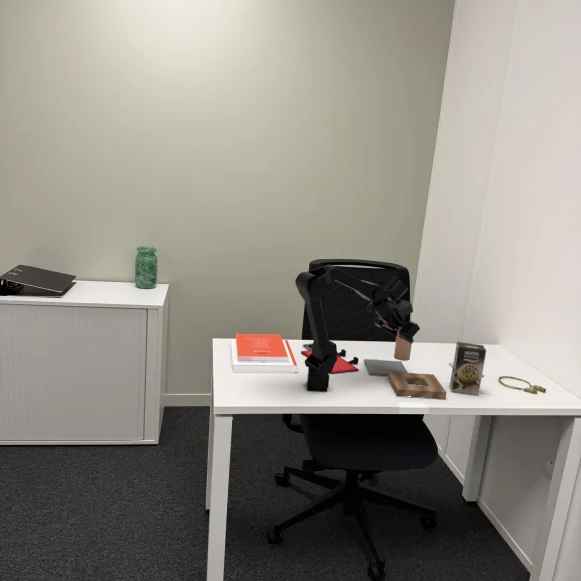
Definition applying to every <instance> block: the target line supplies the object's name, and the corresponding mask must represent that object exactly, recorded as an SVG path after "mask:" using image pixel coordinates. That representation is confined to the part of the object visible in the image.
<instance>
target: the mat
mask: <svg viewBox="0 0 581 581" xmlns="http://www.w3.org/2000/svg"><path fill="white" fill-rule="evenodd" d="M402 362H403V361H402V360H388V359H387V360H384V359H383V360H382V359H372V358H371V359H368V358H364V359H363V363H364V365H365V367H367V368H366V370H367V372H368V374H369V376H379V377H388V372H403V373H409V372H408V371H407V368H406V367H405V365H404V364H403V363H402Z"/></svg>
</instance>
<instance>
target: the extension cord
mask: <svg viewBox="0 0 581 581" xmlns="http://www.w3.org/2000/svg"><path fill="white" fill-rule="evenodd" d="M501 379H510V380H511V379H513V380H516V381H521V382H524V383H526V384H528V385H529V387H523V388H522V387H518V386H517V387H516V386H512V385H509V384H506V383H504V382H503V381H502V380H501ZM498 382H499V383H500V384H501V385H502V386H503V387H505V388H509V389H513V390H523V391H524V392H527V393H529V394H533V395H538V394H537V393H538V392H540V393H541V392H542V393H546V391H547V389H546V388H545V387H543V386H541V385H536V384H534V385H532V384H531V383H530V382H529V381H528V380H524V379H521V378H519V377H515V376H507V375H502V376H499V377H498Z"/></svg>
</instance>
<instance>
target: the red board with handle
mask: <svg viewBox="0 0 581 581" xmlns="http://www.w3.org/2000/svg"><path fill="white" fill-rule="evenodd" d="M312 345H313V343H304V344H303V346H304V347H305V348H307V349H308V350H301V352H300V354H301V355H302V356H304V357H305V356H306V357H305V358H306V359H307V358H308V356H309V355H310V354H311V353H312ZM338 354H339V355H337V362H336V363H335V365H334V367H333V370H332V372H331V375H339V373H340V374H347V372H349V373H354V372H355V373H356V372H359V371H360V370H359V368H358V367H356V366H358V365H357V364H359V358H358V357H357V356H353V359H352V360H350V361H347V360H345V359H344V358H346V356H347V350H346V349H344V348H342V349H341V350H340V352H338ZM342 356H343V357H342ZM353 364H354V365H353ZM320 365H321V364H320Z"/></svg>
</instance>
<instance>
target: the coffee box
mask: <svg viewBox="0 0 581 581" xmlns="http://www.w3.org/2000/svg"><path fill="white" fill-rule="evenodd" d="M454 352H455V353H454V358H453V362H454V363H453V368H452V370H451V377H450V382H449V387H450V390H451V392H452V393H458V394H466V395H471V394H472V395H473V396H479V395H480V389H481V383H482V378H483V377H482V374H483V373H484V372H483V371H484V366H485V360H486V354H487V349H486V348H485V345H483V344H476V343H470V342H469V343H468V342H460V341H457V342H456V346H455V351H454Z"/></svg>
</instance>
